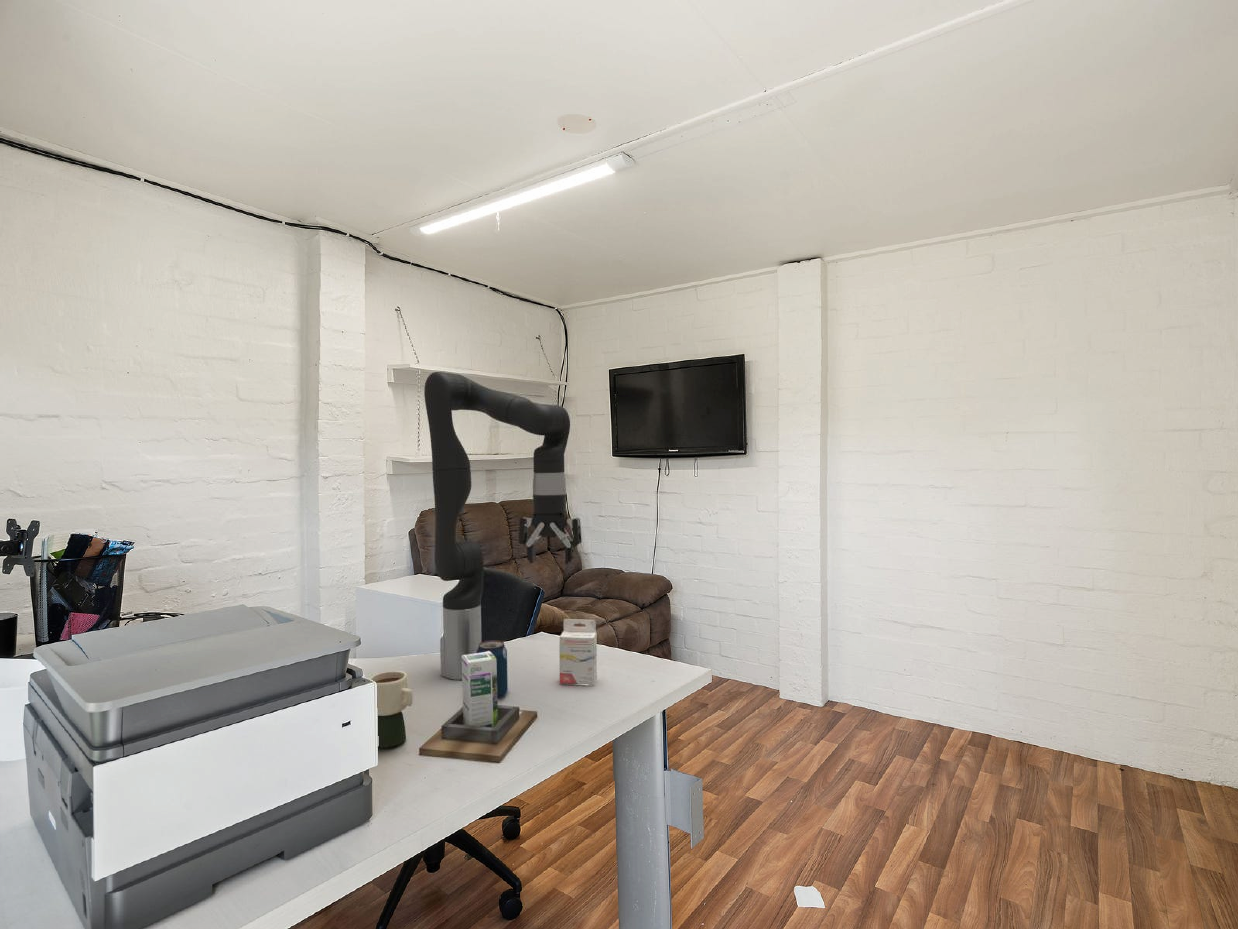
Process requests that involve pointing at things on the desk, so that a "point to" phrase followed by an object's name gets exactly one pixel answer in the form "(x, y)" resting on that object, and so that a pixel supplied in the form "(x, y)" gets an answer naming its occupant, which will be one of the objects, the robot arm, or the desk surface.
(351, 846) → the desk surface
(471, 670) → the syrup box
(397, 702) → the character mug
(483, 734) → the base board
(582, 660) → the ink cartridge box
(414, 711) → the desk surface
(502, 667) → the soda can
